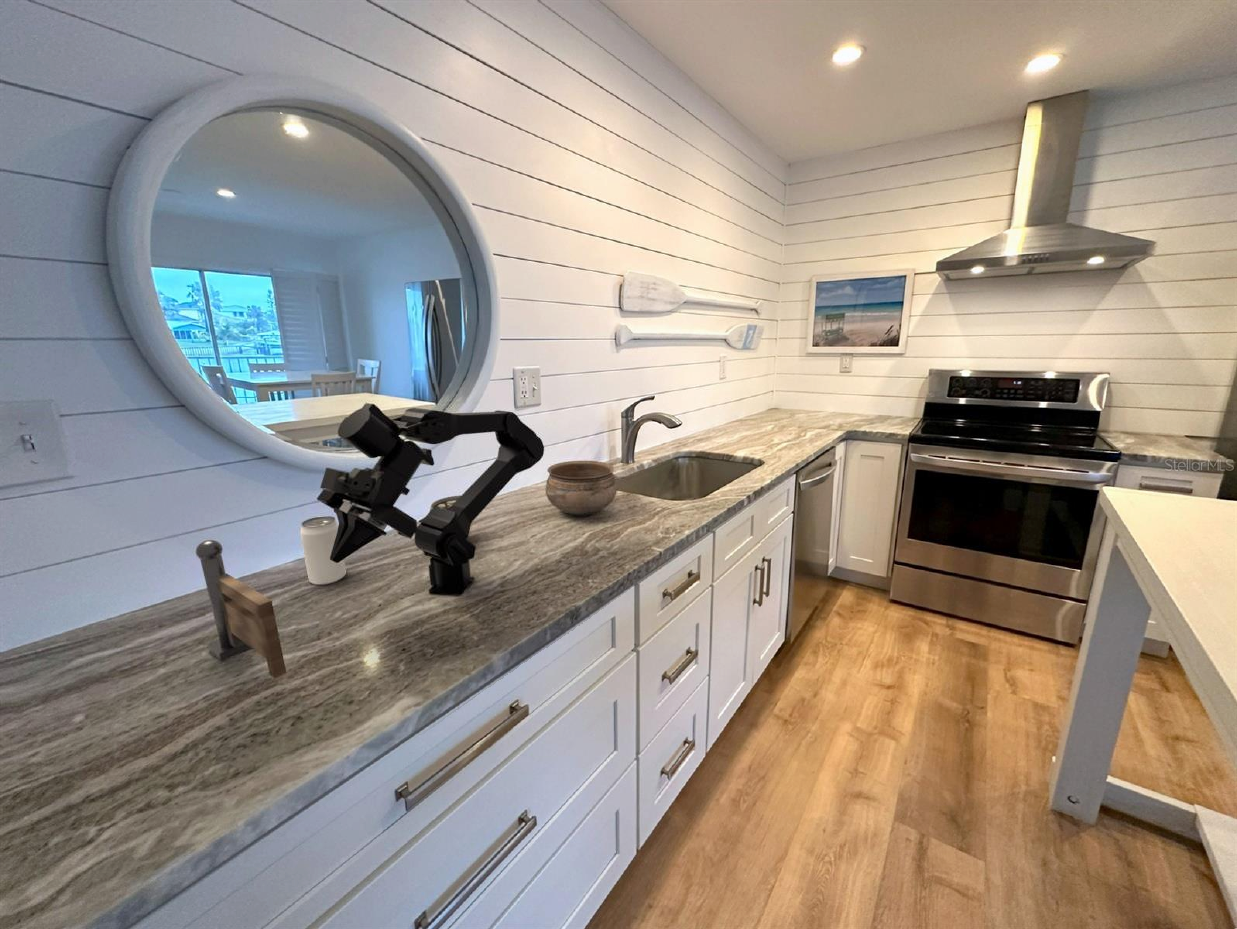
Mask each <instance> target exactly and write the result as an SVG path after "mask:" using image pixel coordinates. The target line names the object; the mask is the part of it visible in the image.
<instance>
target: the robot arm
mask: <svg viewBox="0 0 1237 929" xmlns="http://www.w3.org/2000/svg"><path fill="white" fill-rule="evenodd" d="M484 433H486V434H487V433H494V434H495V439H496V441H497V443H499V447H498V452H497V457H496V459H495V461H494V462H492V464H490V466H488V468H486V469H485V471H484V472H483V473H482V474H481V475H480V476H479V477H478V478H477V479H476V480H475V481H474V482H473V483H472V484H471V485H470V486H469V487H468V488H467V489H466V490H465V491H464V492H463V494H461V497H460V498H459V499H458V500H457V501H456V502H455V503H454V504H453V505H452V506H450V507H449V508H447V509H443V508H439V507H434V508H432V509H431V510H430V509H429V511H430V512H428V513H427V514H426V515H425V516H424V517H423V518H421V519H420V520H418V521H417V519H415V518H414V517H412V516H411V515H410V514H407V513H406V512H404V511H402V510H401V509H400V508H399V507H396V506H394V505H395V504H396V502H397V501H398V500H399V498H400V496H401V495H404V496H407V495H408V494H409V493H410V491H411V490H410V489H409V488H408V487H407V486H408V484H409V483H410V481H411V479H412V478H413V476H414V474H415V473H416V472H417V470H418V468H419V467H420V466H421V465H427V466H432V467H433V466H434V465H435V460H434V458H433V455H432V454H433V453H432V452H433V450H432V449H430V448H425V447H423V448H422V447H421V446H419V445H418V444H416V443H415V442H417V443H423V444H429V445H439V444H443V443H445V442H446V443H447V442H449V441H451V440H453V439H454V438H456V437H458V436H463V435H474V434H484ZM337 436H338V437H340V439H342V440H344V441H345V442H346V443H348V444H350V446H352V447H354V448H355V449H356V450H357V451H359V452H360V453H362V454H363V455H364V456H366V457H368V458H369V459H375V458H379V459H378V460H377V462H376V463H375V464H374V466H373V467H372V468H370V467H366V468H363V469H361V468H359V467H358V468H357V467H354V468H353V469H352V470H351V471H345V470H340V469H335V468H331V467H326V468H325V471H324V473H323V474H324V475H323V477H322V479H321V480H322V481H321V483H320V489H322V490H321V492H320V494H319V495H318V496H317V498H316V500H317V501H318V502H320V503H321V504H324V505H325V506H327V507H329V508H331V509H332V510H333V512H334V513H335V514H336V518H337V520H338V525H339V526H338V531H337V535H336V538H335V542H334V545H333V549H332V552H331V556H330V560H331V561H334V562H336V563H339V562H340V561H342V560H343V559H344V560H345V559H346V558H348V557H349V556H351V555H352V554H354V553H355V552H357V551H359V550H360V549H362V548H363V547H364V546H367V545H368V544H369V543H371V542H373V541H375V540H376V539H378V538H380V537H382V536H386V535H387V534H388V533H387V531H385V529H386V528H387V527H390V528H391V529H393V530H395V531H396V532H397V534H398V535H400V536H401V537H404V538H407V539H412V537H413V536H414V539H413V540H414V544H415V546H416V547H417V548H418V549H419V550H420V551H422V554H424V556H426V557H430V558H429V563H430V564H429V565H428V574H429V575H428V576H429V583H430V585H431V587H430V588H429V589H428V590H427V591H428V594H437V595H449V596H450V595H451V596H462V595H463V594H464V593H465V591H466V590H468V588H469V587H470V586H471V584H472V583H474V581H475V580H476V579H475V576H471V566H470V564H471V563H470V560H472V559H474V557H475V554H476V549H477V547H476V545H474V544H473V543H471V542H470V541H468V538H469V536H470V530H471V525H472V523H473V521H474V520H476V518H478V516H479V515H480V514H481V513H482V512H483V511H484V510H485V508H487V506H488V505H489V504H490V503H491V502H492V501H493V500H494V499H495V498H496V496H498V494H499V493H500V492H501V491H502V490H503V489H504V488H505V487H506V486H507V484H509V482H510V481H511V480H512V479H513V478H514V477H515V476H516V475H517V474H519V473H521V472H524V471H526V470H529V469H531V468H533V467H534V466H535V465H536V464H537V463H539V461H541V459H542V458H543V456H544V452H545V446H544V443H543V440H542V439H541V437H539V436H538V434H537V433H536V432H535V431H534V430H533V429H532V428H530V427H529V426H528V425H527V424H525V423H524V422H523V421H521V419H520V418H519V416H518V415H517V414H515V413H514V412H512V411H507V410H506V411H505V410H494V411H484V412H483V411H480V412H477V411H476V412H456V413H452V412H447V411H441V410H435V409H427V408H418V407H411V408H407V409H406V410H405V411H404V412H403V413H402V415H401V416H398V417H394V418H392V419H391V418H390V417H388V416H387V415H386V414H385V413H383V411H382V410H381V408H380V407H378V406H377V405H376V404H374V403H370V402H365V403H364V404H363V406H362V407H361V408H358V409H356V410H355V411H353V412H352V413H350V414H349V415H348V416H346V417H344V418H343V420H342V421H341V422H340V424H339V427H338V430H337ZM400 436H403V438H405V440H404V439H403V438H402V437H400ZM418 523H420V524H418Z"/></svg>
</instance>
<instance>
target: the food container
mask: <svg viewBox="0 0 1237 929" xmlns="http://www.w3.org/2000/svg"><path fill="white" fill-rule="evenodd" d="M461 495H462V494H461ZM461 495H453V496H452V495H451V496H448V497H443V498H440V499H437V500H435V501H433V502H432V503H431V505H430V507H429V512H430V510H431V509H432V508H434V507H439V508H443V509H447V508H449V507H450V506H452V505H453V504H454V503H455V502H456V501H457V500H458V499H459V498H460V497H461ZM429 512H428V513H429Z"/></svg>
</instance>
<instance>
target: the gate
mask: <svg viewBox="0 0 1237 929" xmlns="http://www.w3.org/2000/svg"><path fill="white" fill-rule="evenodd" d="M225 573H226V572H225ZM215 580H216V584H217V588H218V593H219V597H220V601H221V606H222V610H223V614H224V619H225V623H226V627H227V631H228V636H229V640H230V644H231V645H232V646H233V647H237V646H240V645H242V644H244V643H246V644H247V645H249V646H250V647H251V648H250V649H253V650H254V651H255V652H257V653H258V654H259V655H261V656H262V657H263V658H265V659H266V663H267V668H268V672H269V675H270V676H271V677H272V678H273V679H278V678H280V677H281V676H283V675H285V674H287V670H286V666H285V665H286V664H285V660H284V654H283V650H282V645H281V639H280V635H279V630H278V625H277V620H276V616H275V611H274V606H273V600H272V599H270V598H268V597H266V596H265V595H263V594H262V593H260V592H258V591H256V590H255V589H253V588H252V587H250V586H248V585H247V584H245V583H243V582H241V581H240V580H238V579H237V578H235V577H234V576H232V575H230V574H229V573H226V574H223V575H220V576H217V577H215Z"/></svg>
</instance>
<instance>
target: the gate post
mask: <svg viewBox="0 0 1237 929" xmlns="http://www.w3.org/2000/svg"><path fill="white" fill-rule="evenodd" d="M223 550H224V549H223V546H222V544H221V542H219V541H217V540H213V539H209V540H208V539H207V540H204V541H202V542H201V543H199V544H198V545H197V546H196V549H195V555H196V557H197V558H198V559H199V560H200V564H201V568H202V573H203V576H204V580H205V585H206V589H207V592H208V597H209V601H210V605H211V611H212V614H213V618H214V623H215V627H216V630H217V635H218V639H217V640H214V641H212V642H209V643H207V648H208V652H209V653H211V654H212V655H213V656H214V657H216V658H217V660H219V662H222V661H224V660H226V659H228V658H232V657H233V656H236V655H238V654H239V653H242V652H244V651H247V650H249V649H252V648H251V647H250V646H249V645H247V644H246V643H244V644H242V645H240V646H237V647H233V646H232V645H231V644H230V640H229V636H228V631H227V627H226V623H225V619H224V614H223V610H222V606H221V601H220V597H219V593H218V588H217V584H216V580H215V577H217V576H220V575H223V574H226V568H225V565H224V560H223V556H222V554H223Z"/></svg>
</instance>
